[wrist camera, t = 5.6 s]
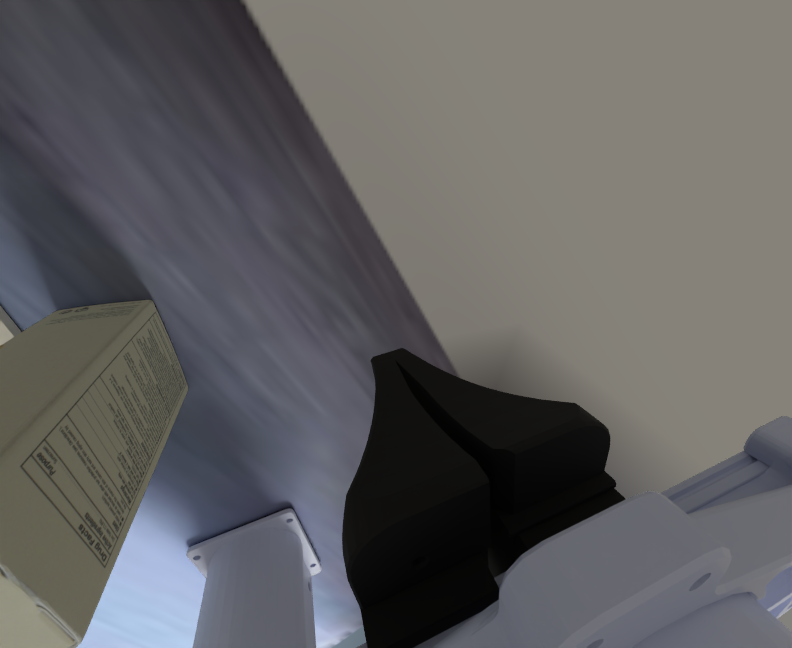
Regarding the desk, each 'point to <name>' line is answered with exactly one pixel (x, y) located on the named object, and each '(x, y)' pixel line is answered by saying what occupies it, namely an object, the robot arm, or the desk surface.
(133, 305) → the skincare box
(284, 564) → the robot arm
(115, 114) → the desk surface
